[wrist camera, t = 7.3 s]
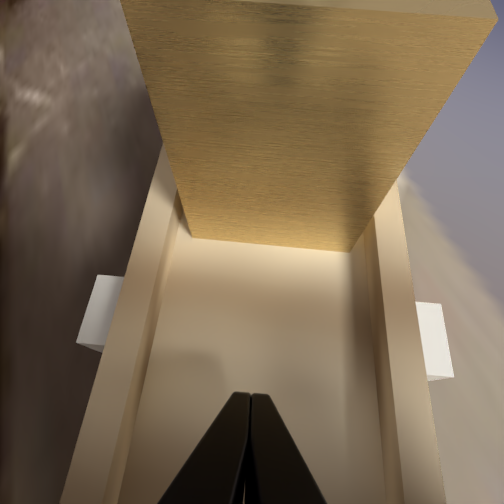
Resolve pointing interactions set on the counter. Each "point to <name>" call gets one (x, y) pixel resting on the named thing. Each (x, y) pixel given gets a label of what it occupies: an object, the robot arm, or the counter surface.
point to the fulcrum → (110, 286)
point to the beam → (261, 360)
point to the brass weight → (297, 105)
